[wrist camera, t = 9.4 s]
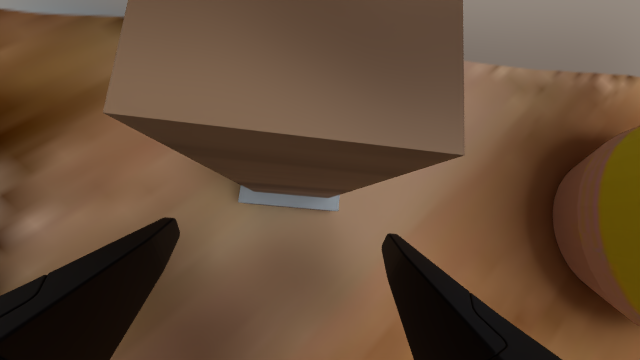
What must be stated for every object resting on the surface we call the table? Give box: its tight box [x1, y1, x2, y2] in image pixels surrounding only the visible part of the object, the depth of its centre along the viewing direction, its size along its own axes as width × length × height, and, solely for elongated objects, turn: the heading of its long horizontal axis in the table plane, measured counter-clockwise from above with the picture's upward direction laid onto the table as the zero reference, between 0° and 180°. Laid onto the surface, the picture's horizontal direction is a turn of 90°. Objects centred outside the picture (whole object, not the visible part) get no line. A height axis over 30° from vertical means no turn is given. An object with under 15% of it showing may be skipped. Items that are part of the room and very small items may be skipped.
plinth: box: [238, 185, 340, 211], centre depth 20 cm, size 8×8×3 cm
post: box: [103, 0, 465, 198], centre depth 12 cm, size 6×6×15 cm
